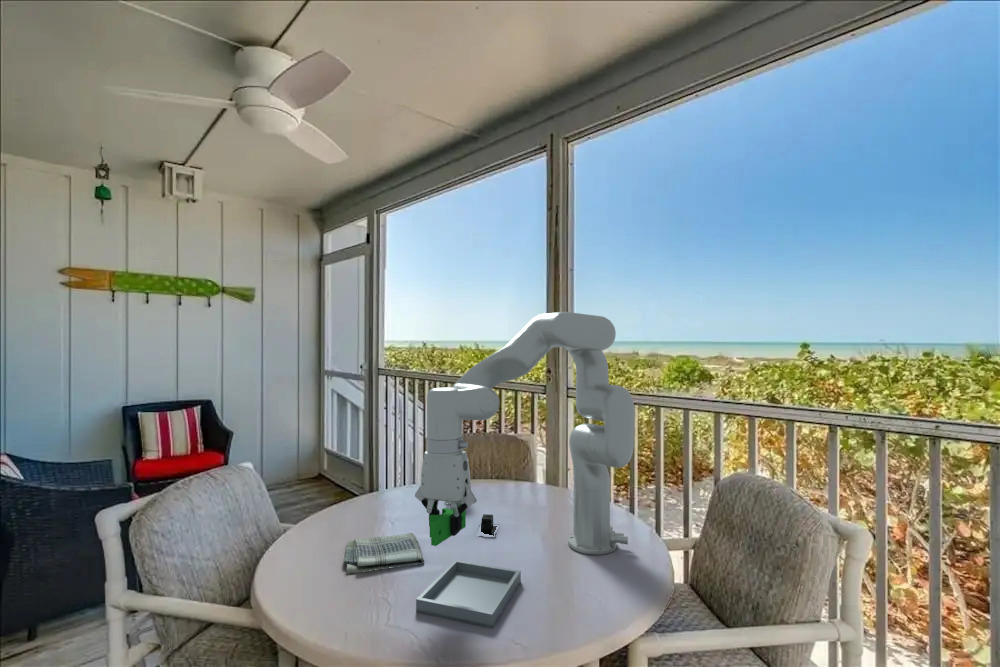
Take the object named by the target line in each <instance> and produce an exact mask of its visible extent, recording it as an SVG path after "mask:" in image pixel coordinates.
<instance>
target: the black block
mask: <svg viewBox="0 0 1000 667" xmlns="http://www.w3.org/2000/svg"><path fill="white" fill-rule="evenodd" d="M480 524H481V532H483V533H484V534H489V535H493V536H494V532H495V530H496V527H497V526H493V525H494V514H487V513H484V514H482V517H481V522H480Z"/></svg>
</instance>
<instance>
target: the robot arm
mask: <svg viewBox="0 0 1000 667" xmlns="http://www.w3.org/2000/svg"><path fill="white" fill-rule="evenodd" d="M616 333H617V332H616V327H615V326H614V324H613V322H612V321H611V320H610V319H608V318H607V317H605V316H602V315H594V314H586V313H585V314H584V313H580V312H572V311H571V312H570V311H558V312H557V311H556V312H548V313H547V312H546V313H540V314H538V315H536V316H535V317H533V318H531V319H530V321H529V322H528V323H526V325H525V326H524V327H522V329H521V330H520V331H518V332H517V333H516V335H514V337H512V338H511V339H510V340H509V341H508V342H507V343H506V344H505V346H503V347H502V348H500V349H499V350H497V351H495V352H493V354H491V355H489V356H488V357H486V358H484V359H482V360H481V361H479V362H478V363H476V364H475V365H473V366H472V367H471V368H470V369H468V370H467V371H466V372H464V374H463V375H461V377H460V378H459V379H458V380H457V381H455V383H454V384H453V385H452V386H451V387H449V386H448V387H444V386H443V387H436V388H435V387H433V388H431V389H429V390H428V392H427V395H426V434H427V435H426V441H427V442H426V443H427V444H426V451H425V452H424V455H423V459H422V464H421V465H422V466H421V472H420V473H421V474H420V486H419V487H418V489H417V490H416V492H415V494H414V497H415V498H416V499H417V500H418V501H419V502H421V504H422V505H423V507H424V508H425V509H426V513H428V526H429V528H430V515H440V514H441V512H440V509H439V508H438V507H439V502H440V501H441V502H443V501H448V502H451V505H450V506H451V509H452V510H453V516H452V517H451V535H452V536H451V537H455V536H457V534H459V533H460V532H461V531H462V530H461V528H462V513H463V512H464V511H465V510H467V509H468V508H469V507H471V506H472V505H474V504H475V503H476V502H477V497H476V496H475V495H474V493H473V491H472V488H471V487H472V486H471V485H472V483H471V473H470V472H471V471H470V464H469V463H470V462H469V461H468V459H469V458H468V454H467V451H465V450H464V449H467V448H468V447H469V442H468V441H465V440H464V437H463V421H465V420H466V421H486V420H489V419H491V418H492V417H494V416H495V414H497V412H498V410H499V409H500V398H499V396H498V394H497V392H496V391H495V390H493V388H495V387H496V386H498V385H500V384H504V383H506V382H509V381H514V380H516V379H518V378H522V377H524V376H526V375H527V374H528V373H530V372H531V371H532V370H533V368H534V367H535V366H536V365H538V363H539V362H540V361H541V360H543V358H544V357H545V356H546V355H547V354H548V353H549V352H550V351H551V350H552V349H554V348H564V349H565V350H566V351H567V352H568V353H569V354H570V355H571V357H572V359H573V362H574V364H575V373H576V375H575V407H576V412H577V413H578V414H579V416H581V417H583V418H586V419H587V420H588V419H589V420H593V421H600V422H603V424H604V425H600V424H595V423H582V424H579V425H576V426H575V427H574V428H573V429H572V431H571V433H570V435H569V438H568V439H569V440H568V441H569V442H568V443H569V444H568V445H569V446H568V447H569V451H570V452H569V453H570V456H571V461H572V474H573V477H572V478H573V481H572V482H573V483H572V484H573V485H572V486H573V490H572V491H573V492H572V494H573V500H572V501H573V503H572V504H573V505H572V506H573V533H572V534H569V536H568V537H567V545H568V547H570V548H571V549H572V550H574V551H576V552H579V553H580V554H581V553H582V554H585V555H593V556H594V555H607V554H610V553H612V552H614V551H615V550H616V549H617V544H622V545H629V536H627V535H625V534H624V533H623V532H616V531H615V530H613V525H611V504H610V503H611V478H610V473H609V470H608V467H610V468H617V469H618V468H623V467H625V466H627V465H628V464H629V463H630V461H631V459H632V457H633V453H634V448H635V447H634V442H635V404H634V400H633V396H632V394H631V393H630V391H629V390H628V389H627V388H625V387H624V386H620V385H617V384H610V382H609V381H610V380H609V379H610V378H609V365H608V359H607V356H606V355H605V353H604V352H603V351H605V350H607V349H610V347H612V345H613V344H614V342H615V339H616V335H617V334H616ZM463 497H466V498H467V501H466V502H464V503H463V502H462V500H463Z"/></svg>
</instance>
